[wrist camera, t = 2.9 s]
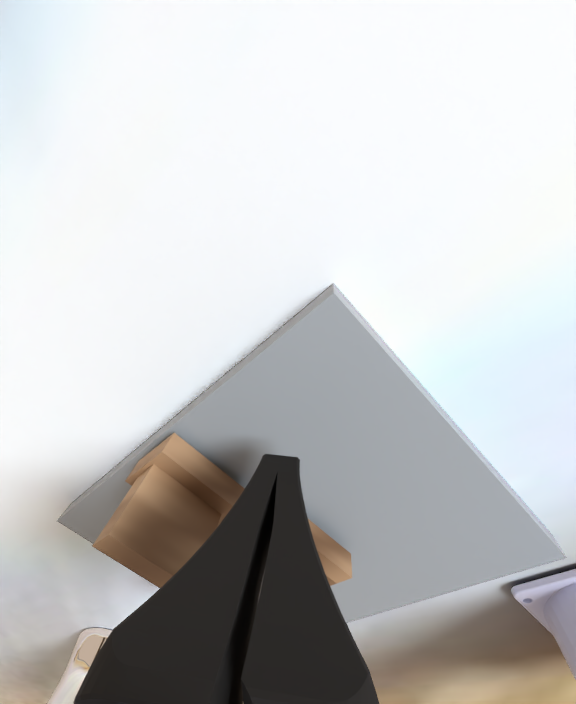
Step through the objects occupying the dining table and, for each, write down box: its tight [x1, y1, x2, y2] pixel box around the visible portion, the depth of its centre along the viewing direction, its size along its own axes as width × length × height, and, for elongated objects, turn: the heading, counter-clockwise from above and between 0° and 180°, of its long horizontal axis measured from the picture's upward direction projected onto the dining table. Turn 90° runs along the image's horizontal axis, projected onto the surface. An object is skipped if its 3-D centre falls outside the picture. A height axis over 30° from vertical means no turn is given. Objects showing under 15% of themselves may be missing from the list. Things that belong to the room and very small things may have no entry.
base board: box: [57, 284, 567, 623], centre depth 16 cm, size 18×22×6 cm
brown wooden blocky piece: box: [92, 433, 352, 588], centre depth 15 cm, size 11×5×4 cm, turn 43°
